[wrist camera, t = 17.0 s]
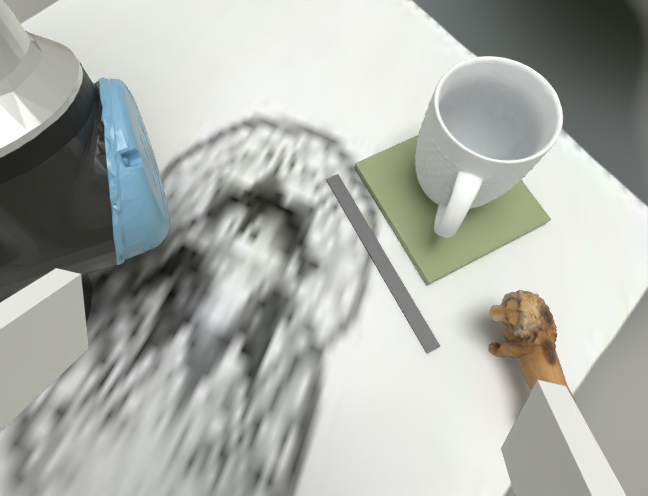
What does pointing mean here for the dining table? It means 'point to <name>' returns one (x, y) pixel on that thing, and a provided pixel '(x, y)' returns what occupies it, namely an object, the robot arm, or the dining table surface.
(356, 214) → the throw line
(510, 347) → the lion figurine
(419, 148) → the mug
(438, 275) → the mat
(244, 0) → the dining table surface
